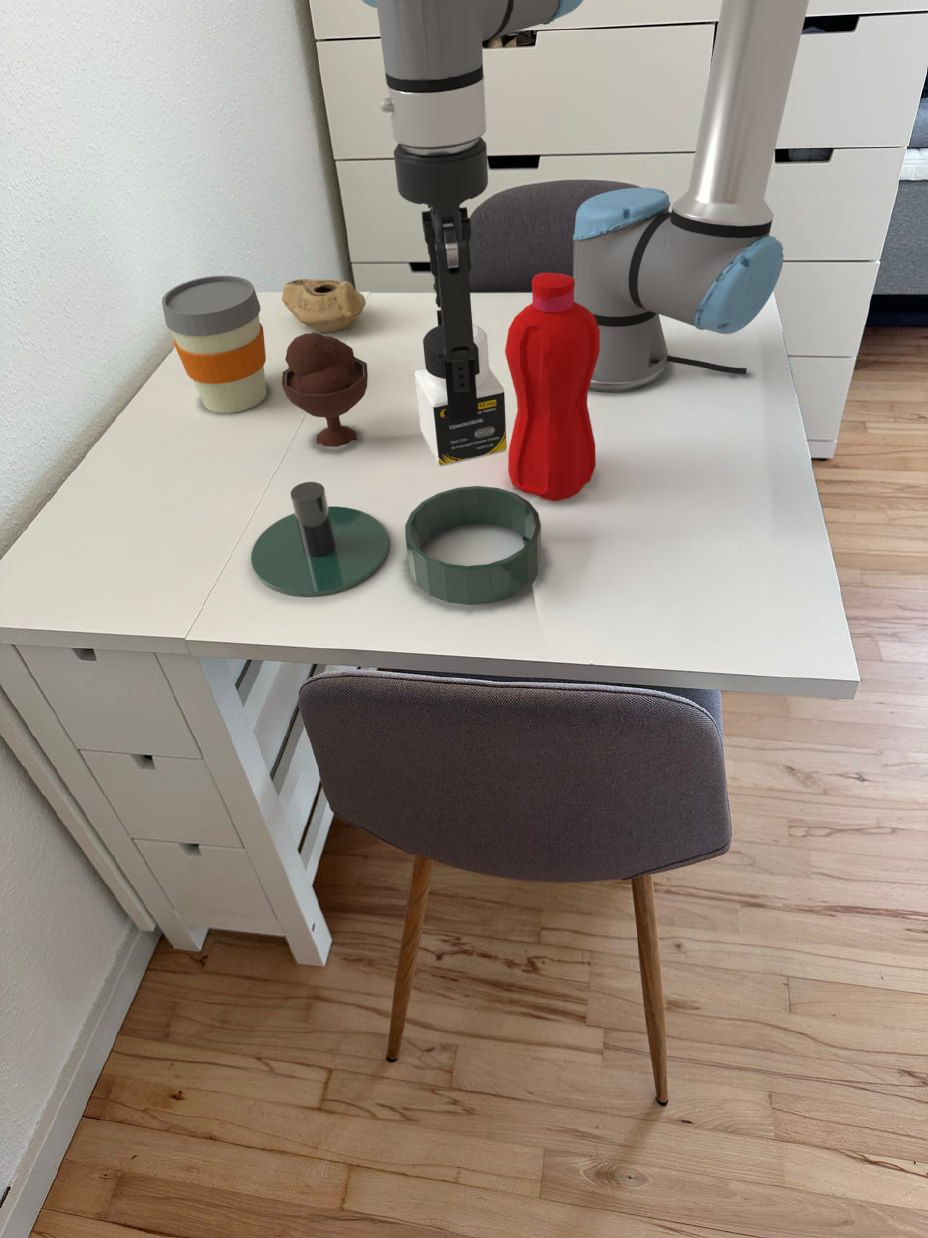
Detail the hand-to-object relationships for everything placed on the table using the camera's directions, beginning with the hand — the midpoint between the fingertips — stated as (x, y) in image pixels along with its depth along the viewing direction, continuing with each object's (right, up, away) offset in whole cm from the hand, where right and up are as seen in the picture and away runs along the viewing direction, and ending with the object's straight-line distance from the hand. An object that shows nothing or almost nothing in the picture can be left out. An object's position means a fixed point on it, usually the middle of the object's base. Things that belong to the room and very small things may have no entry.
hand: (459, 393), depth 88 cm
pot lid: (-16, -14, +13) cm, 25 cm away
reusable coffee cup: (-32, +10, +41) cm, 53 cm away
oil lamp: (-22, +25, +56) cm, 65 cm away
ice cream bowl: (-16, +1, +31) cm, 35 cm away
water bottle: (+11, -5, +22) cm, 25 cm away
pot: (+2, -16, +10) cm, 19 cm away
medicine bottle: (0, -4, +4) cm, 6 cm away
